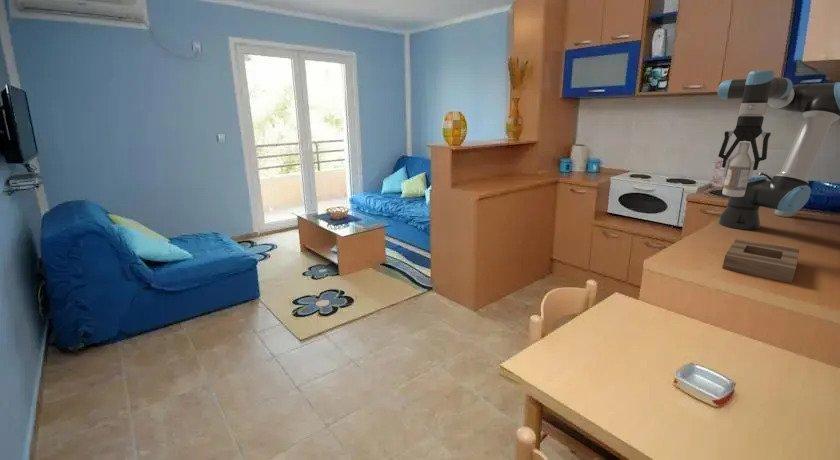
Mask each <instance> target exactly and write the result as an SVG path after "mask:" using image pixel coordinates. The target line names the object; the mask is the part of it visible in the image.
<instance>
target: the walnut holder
mask: <svg viewBox="0 0 840 460" xmlns="http://www.w3.org/2000/svg"><path fill="white" fill-rule="evenodd" d="M799 254H800V249H799V248H793V247H788V246H782V245H776V244H772V243H767V242H766V243H764V242H760V241H754V240H748V239H742V238H735V239H734V241H733V243H732V244H731V246H730V247H729V248H728V250H727V251H726V253H725V254H724V259H723V264H722V268H721V269H724V270H727V271H731V272H733V271H734V272H736V273H737V272H738V273H741V274H747V275H750V276H751V275H752V276H756V277H760V278H761V277H762V278H765V279H769V280H775V281H778V282H779V281H780V282H784V283H789V284H792V283H793V280H794V276H795V273H796V269H797V265H798V260H799Z"/></svg>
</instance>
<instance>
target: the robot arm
mask: <svg viewBox="0 0 840 460" xmlns="http://www.w3.org/2000/svg"><path fill="white" fill-rule="evenodd" d="M717 97H718V98H719V99H720V100H727V101H729V100H735V101H736V100H737V101H741V104H740V106H739V107H740V108H739V112H738V115H739V116H738V117H737V119H736V120H737V121H736V126H735V128H734V129H733V130H727V131H724V133H723V134H724V139H723V142H722V144H721V146H720V147H721V148H720V151H719V153H718V156H717V157H718V158H721V159H722V165H721V167H722V168H723V169H724V171H723V175H722V177H724V178H726V174H727V169H728V165H729V162H730V160H731V159H730V156H731V155H732V153H733V152H734V150H735V149H736V148H737V146H738V145H739V144H740V143H741V142H748V143H749V142H750V146H751V150H752V154H753V158H754V160H751V163H752V164H751V168H750V172H749V176H748V182H747V187H746V191H745V195H744V196H743V197H732V196H728V200H727V205H726V208H725V210H724V211H723V212H722V214H721V216H720V217H719V221H718V223H719V225H722V226H724V227H728V228H732V229H738V230H747V231H748V230H749V231H750V230H751V231H753V230H759V229H760V228H761V222H760V221H761V218H760V213H759V210H760V207H761V208H765V209H771V210H775V209H776V210H779V211H787V212H794V213H795V212H798V211H799V210H801V209H802V208H804V206H805V205H806V204H807V203H808V201H809V199H810V197H811V193H812V189H811V187H810V186H809V183H810V182H809V180H808V179H807V177H808V174H809V172H810V171H811V168H812V166H813V164H814V162H815V159H816V157H817V155H818V153H819V151H820V149H821V147H822V144H823V143H824V142H825V141H824V140H825V139H826V136H827V134H828V131H829V130H830V128H831V125H832V124H833V123H834V122H835V121H838V120H840V82H839V81H837V82H823V83H818V82H817V83H800V84H793V81H792V80H791V79H790V78H787V77H783V76H775V71H774V70H772V69H770V70H769V69H768V70H766V69H762V70H752V71H750V72H749V73H748V74H747V77H746V78H740V79H738V78H737V79H733V78H732V79H728V80H727V79H725V80H723V81H722V82H721V83H720V84H719V85H718V88H717ZM768 106H769V107H770V108H773V109H779V110H782V111H787V112H792V113H802V114H801V116H802V117H803V118H804V120H803V122H802V124H801V126H800V128H799V131H798V133H797V135H796V137H795V139H794V141H793V143H792V145H791V148H790V149H789V152H788V154H787V157H786V159H785V161H784V163H783V165H782V168H781V169H780V171H779V172H778V173H777V174H774V175H773V177H772V178H771V180H768V177H767V176H766V175H753V174H754V171H757V170H758V168H759V165H760V162H761V161H765V160H766V159H767V158H768V157H767V156H768V147H769V139H770V137H771V135H772V133H771V132H768V131H767V132H766V131H763V128H762V127H763V124H764V119H765V118H764V116H763V115H765V114H766V111H767V108H768ZM733 134H734V136H735V138H736V139H735V140H734V142H733V143H732V144H731V146H730V147H729V149H728V150H727V152H726V149H727V147H728V144H729V140H730V138H731V137H732V136H733ZM760 136H761V137H762V140H763V141H762V149H761V150H762V151H761V156H760V154H759V153H760V152H759V149H758V145H757V140H756V139H757V138H758V137H760ZM725 152H726V153H725Z"/></svg>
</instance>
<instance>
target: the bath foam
mask: <svg viewBox="0 0 840 460" xmlns="http://www.w3.org/2000/svg"><path fill="white" fill-rule="evenodd" d="M750 146H751V142H750V143H749V142H739V146H738V150H737V151H738V152H737V153H736V154H735V155H733V156H732V158H731V159H730V162H729V165H728V169H727V174H726V177H724V184H723V188H722V192H721V193H722V195H723V196H727V197H729V196H732V197H743V196H744V195H745V191H746V187H747V182H748V176H749V172H750V168H751V164H752V159H751V156H750V155H749V148H750Z"/></svg>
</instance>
